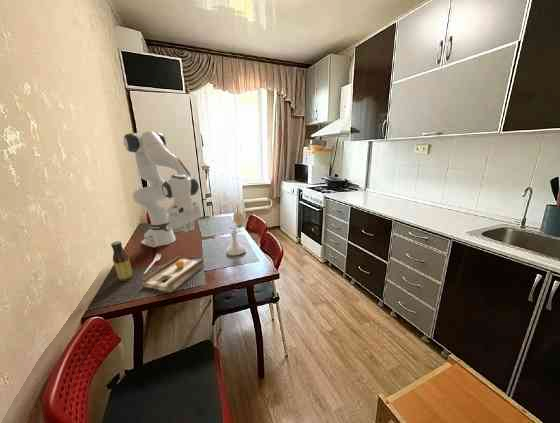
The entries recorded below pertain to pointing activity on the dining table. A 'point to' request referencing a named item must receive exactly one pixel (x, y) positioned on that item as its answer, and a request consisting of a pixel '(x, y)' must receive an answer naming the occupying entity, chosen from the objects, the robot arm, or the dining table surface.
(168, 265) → the beige tray
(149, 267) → the fork
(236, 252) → the flower in vase
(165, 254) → the dining table surface
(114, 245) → the sauce bottle
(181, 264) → the ball
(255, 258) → the dining table surface
